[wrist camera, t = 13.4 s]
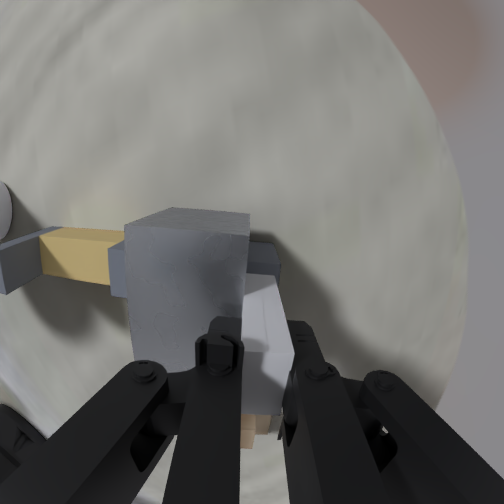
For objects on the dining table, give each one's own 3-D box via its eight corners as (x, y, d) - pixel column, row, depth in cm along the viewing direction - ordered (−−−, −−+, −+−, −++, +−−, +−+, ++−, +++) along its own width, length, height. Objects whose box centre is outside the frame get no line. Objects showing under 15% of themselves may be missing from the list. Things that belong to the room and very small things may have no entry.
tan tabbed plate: (193, 424, 24) (186, 459, 20) (189, 356, 22) (177, 394, 17) (267, 430, 25) (269, 466, 20) (281, 363, 22) (287, 403, 17)
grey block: (170, 311, 19) (136, 372, 12) (171, 207, 17) (124, 225, 10) (239, 319, 19) (234, 387, 12) (249, 213, 17) (249, 235, 10)
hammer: (54, 259, 20) (-5, 291, 12) (52, 226, 19) (-12, 248, 11) (268, 282, 20) (279, 342, 12) (273, 243, 19) (288, 284, 12)
